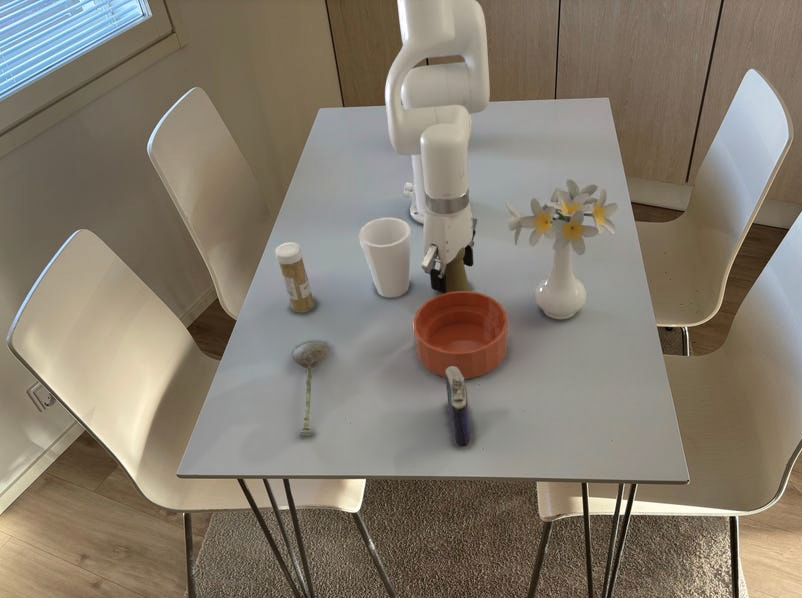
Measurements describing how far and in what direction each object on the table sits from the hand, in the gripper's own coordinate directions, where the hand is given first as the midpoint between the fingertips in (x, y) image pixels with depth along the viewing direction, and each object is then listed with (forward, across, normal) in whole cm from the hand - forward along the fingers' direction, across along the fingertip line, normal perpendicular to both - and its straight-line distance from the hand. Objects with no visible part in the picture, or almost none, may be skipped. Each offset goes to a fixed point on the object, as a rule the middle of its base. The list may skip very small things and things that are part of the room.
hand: (452, 276), depth 132 cm
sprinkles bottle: (+3, +18, -23) cm, 29 cm away
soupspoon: (+4, +34, -8) cm, 35 cm away
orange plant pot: (+3, +13, +10) cm, 17 cm away
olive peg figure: (+3, 0, 0) cm, 3 cm away
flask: (+4, +28, +19) cm, 34 cm away
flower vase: (+4, -4, +20) cm, 21 cm away
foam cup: (+3, +5, -11) cm, 13 cm away
